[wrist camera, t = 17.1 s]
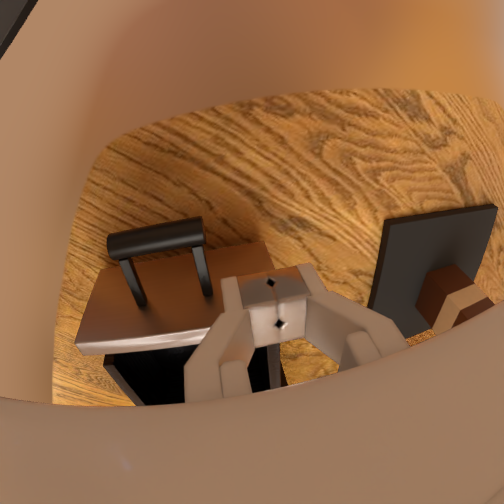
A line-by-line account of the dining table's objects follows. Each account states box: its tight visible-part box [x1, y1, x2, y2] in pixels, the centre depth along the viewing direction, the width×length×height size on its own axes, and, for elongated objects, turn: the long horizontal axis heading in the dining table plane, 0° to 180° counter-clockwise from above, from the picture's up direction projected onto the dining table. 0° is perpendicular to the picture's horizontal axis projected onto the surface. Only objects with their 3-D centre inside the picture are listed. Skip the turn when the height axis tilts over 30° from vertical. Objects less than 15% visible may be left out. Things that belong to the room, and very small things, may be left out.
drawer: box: [74, 216, 281, 406], centre depth 19 cm, size 18×12×7 cm
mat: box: [367, 204, 498, 339], centre depth 28 cm, size 18×18×1 cm
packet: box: [415, 264, 495, 335], centre depth 22 cm, size 5×5×12 cm
